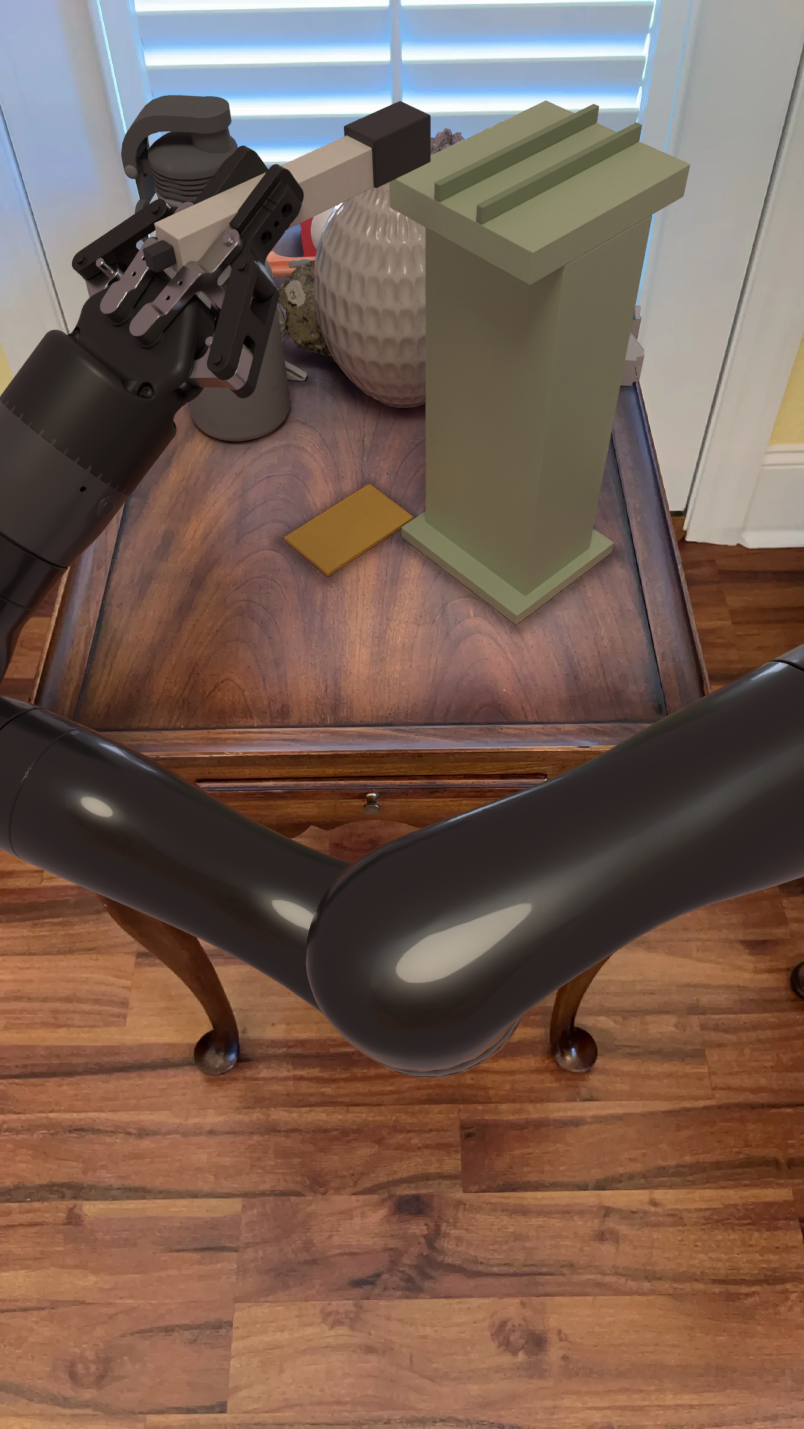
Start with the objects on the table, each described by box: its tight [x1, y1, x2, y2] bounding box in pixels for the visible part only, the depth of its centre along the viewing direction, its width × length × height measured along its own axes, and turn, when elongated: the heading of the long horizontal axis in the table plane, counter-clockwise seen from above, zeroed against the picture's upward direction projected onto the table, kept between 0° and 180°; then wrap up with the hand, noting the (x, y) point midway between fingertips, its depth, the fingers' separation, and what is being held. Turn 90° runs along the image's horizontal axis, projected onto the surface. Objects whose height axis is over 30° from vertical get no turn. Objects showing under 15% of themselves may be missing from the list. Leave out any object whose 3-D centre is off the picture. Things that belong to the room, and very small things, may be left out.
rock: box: [278, 260, 336, 363], centre depth 99 cm, size 6×9×10 cm
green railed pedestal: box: [389, 100, 691, 625], centre depth 73 cm, size 14×14×33 cm
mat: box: [283, 483, 414, 577], centre depth 88 cm, size 10×6×1 cm, turn 132°
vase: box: [314, 183, 426, 409], centre depth 90 cm, size 16×16×22 cm
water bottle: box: [120, 94, 291, 442], centre depth 86 cm, size 10×10×28 cm
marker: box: [143, 100, 432, 273], centre depth 49 cm, size 17×2×2 cm, turn 133°
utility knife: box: [266, 250, 316, 279], centre depth 102 cm, size 4×1×18 cm
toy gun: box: [620, 304, 645, 387], centre depth 101 cm, size 3×14×10 cm
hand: (273, 169), depth 48 cm, fingers closed on marker, 2 cm apart
